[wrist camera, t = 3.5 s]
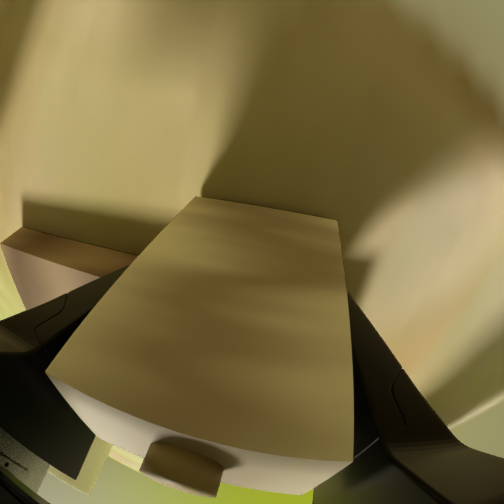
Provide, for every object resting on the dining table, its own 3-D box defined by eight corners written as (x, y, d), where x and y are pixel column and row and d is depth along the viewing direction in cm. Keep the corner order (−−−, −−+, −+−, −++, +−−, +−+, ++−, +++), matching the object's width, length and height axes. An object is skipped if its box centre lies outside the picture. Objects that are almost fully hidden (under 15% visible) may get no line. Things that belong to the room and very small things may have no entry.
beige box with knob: (337, 220, 10) (350, 498, 3) (287, 382, 15) (260, 526, 8) (195, 196, 10) (27, 396, 3) (199, 363, 15) (146, 496, 8)
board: (340, 296, 11) (342, 331, 10) (302, 386, 15) (299, 416, 13) (21, 227, 13) (-1, 243, 12) (51, 311, 17) (35, 329, 15)
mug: (63, 359, 21) (9, 444, 12) (137, 428, 26) (104, 503, 17) (32, 357, 24) (-13, 422, 15) (95, 418, 29) (64, 479, 20)
